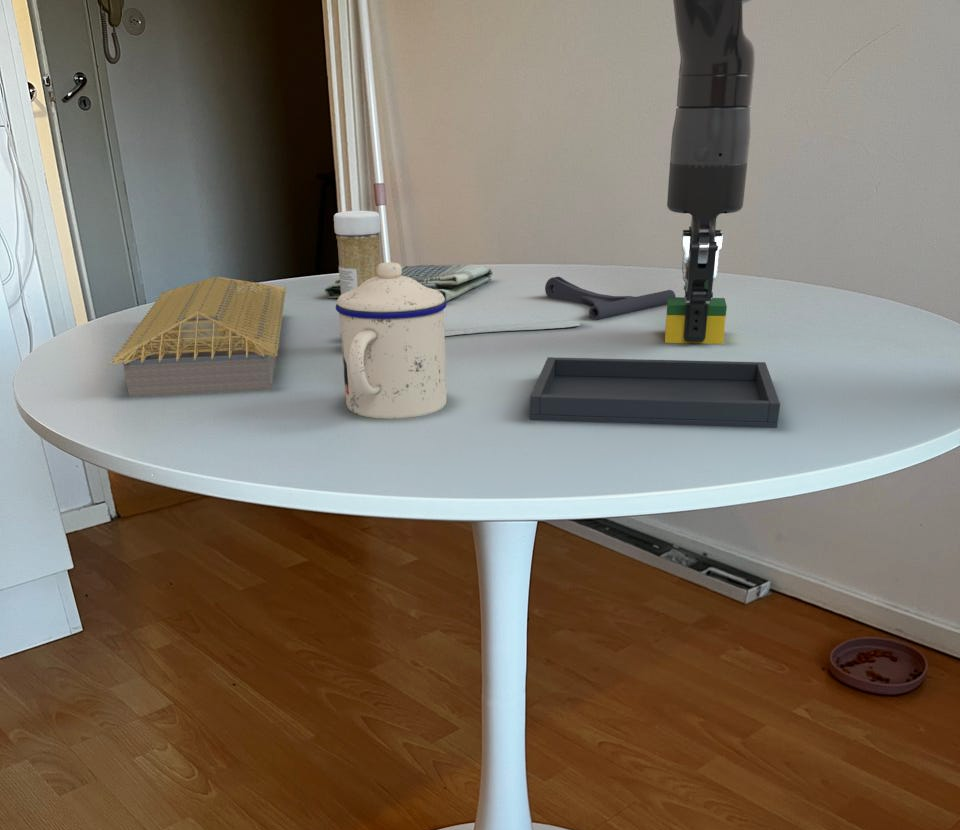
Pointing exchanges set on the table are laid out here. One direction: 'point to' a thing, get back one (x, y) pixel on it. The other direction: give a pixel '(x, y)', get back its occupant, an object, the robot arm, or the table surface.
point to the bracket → (604, 299)
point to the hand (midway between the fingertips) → (693, 335)
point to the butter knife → (516, 327)
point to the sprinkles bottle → (357, 247)
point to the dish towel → (438, 278)
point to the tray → (655, 392)
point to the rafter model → (205, 340)
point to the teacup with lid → (393, 346)
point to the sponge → (677, 321)
